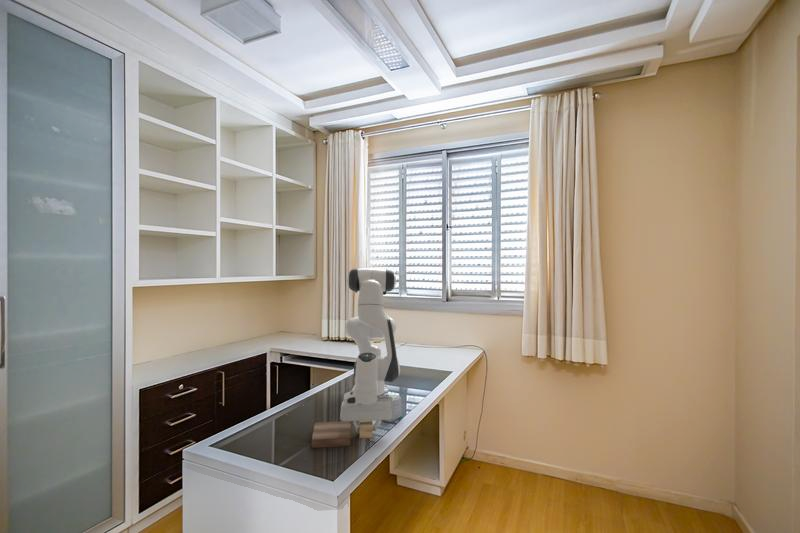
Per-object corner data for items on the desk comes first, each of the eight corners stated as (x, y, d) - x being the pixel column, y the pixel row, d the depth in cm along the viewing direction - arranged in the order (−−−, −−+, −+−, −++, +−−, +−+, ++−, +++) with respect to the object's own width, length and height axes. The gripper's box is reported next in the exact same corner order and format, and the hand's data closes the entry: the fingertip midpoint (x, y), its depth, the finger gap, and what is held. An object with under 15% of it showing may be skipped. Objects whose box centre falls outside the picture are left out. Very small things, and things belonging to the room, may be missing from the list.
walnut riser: (315, 430, 149) (315, 422, 149) (350, 428, 151) (350, 421, 151) (311, 447, 135) (311, 439, 135) (350, 445, 137) (350, 437, 137)
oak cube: (359, 432, 148) (359, 419, 148) (371, 431, 149) (372, 419, 149) (359, 438, 143) (359, 425, 143) (372, 437, 144) (372, 424, 144)
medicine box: (394, 414, 166) (394, 394, 166) (402, 417, 163) (402, 397, 163) (382, 419, 160) (382, 399, 160) (390, 423, 157) (390, 402, 157)
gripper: (392, 392, 150) (391, 426, 150) (340, 393, 147) (340, 428, 148) (393, 398, 144) (393, 433, 144) (340, 399, 141) (339, 435, 141)
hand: (365, 430), depth 146 cm, fingers closed on oak cube, 5 cm apart
